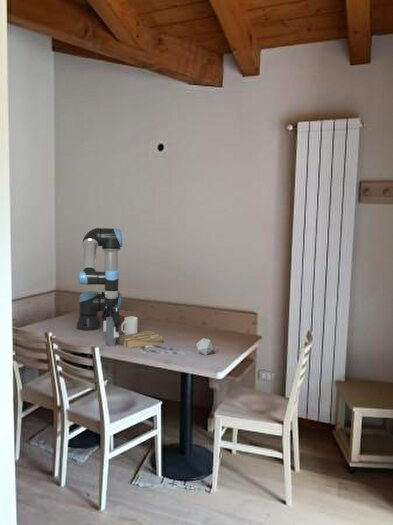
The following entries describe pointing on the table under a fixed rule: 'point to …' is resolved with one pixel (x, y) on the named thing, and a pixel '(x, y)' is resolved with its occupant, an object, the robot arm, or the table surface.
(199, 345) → the die
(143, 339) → the port block
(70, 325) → the table surface
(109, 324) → the plug
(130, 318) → the mug
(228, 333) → the table surface
